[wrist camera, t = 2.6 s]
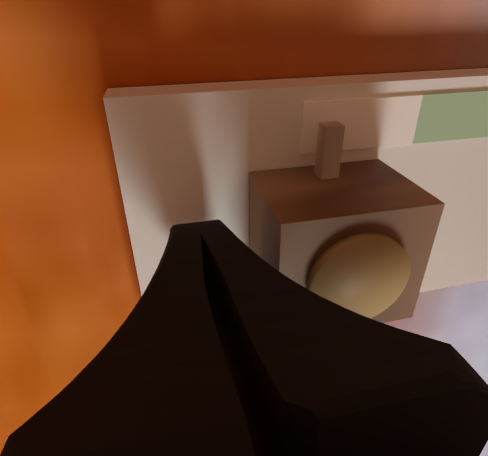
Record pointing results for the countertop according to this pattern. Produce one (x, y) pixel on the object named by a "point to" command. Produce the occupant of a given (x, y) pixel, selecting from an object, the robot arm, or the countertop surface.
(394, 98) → the gauge track
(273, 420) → the robot arm
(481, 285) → the countertop surface
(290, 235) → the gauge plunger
